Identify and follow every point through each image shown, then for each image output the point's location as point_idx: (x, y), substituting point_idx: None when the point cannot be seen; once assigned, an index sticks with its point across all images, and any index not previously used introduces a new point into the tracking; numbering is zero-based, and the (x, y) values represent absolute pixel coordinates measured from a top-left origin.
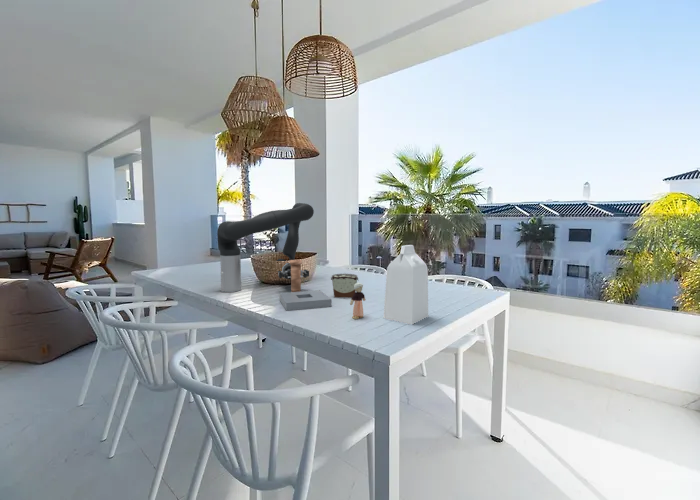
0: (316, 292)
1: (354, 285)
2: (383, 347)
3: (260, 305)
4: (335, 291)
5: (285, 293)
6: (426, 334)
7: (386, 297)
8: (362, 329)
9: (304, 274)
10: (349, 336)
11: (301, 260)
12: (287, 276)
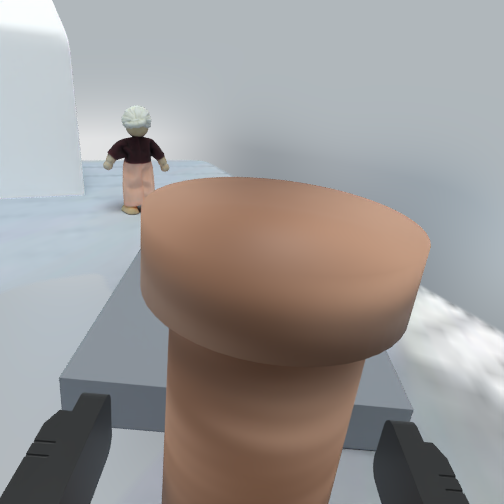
0: (133, 335)
1: (149, 116)
2: (196, 165)
3: (491, 384)
4: None
5: (360, 383)
6: (95, 161)
7: (77, 136)
8: None
9: (101, 429)
10: None
11: (159, 192)
12: (386, 438)
